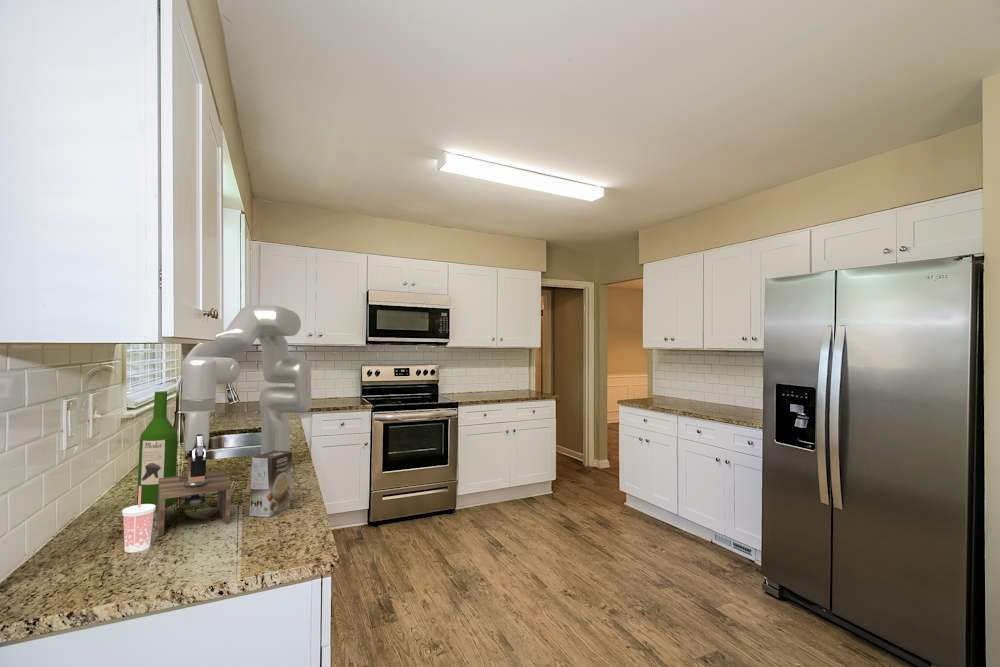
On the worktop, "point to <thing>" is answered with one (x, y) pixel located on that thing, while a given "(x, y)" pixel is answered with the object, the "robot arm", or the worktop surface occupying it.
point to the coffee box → (270, 483)
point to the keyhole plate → (174, 488)
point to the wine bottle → (157, 453)
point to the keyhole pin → (193, 483)
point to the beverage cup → (138, 526)
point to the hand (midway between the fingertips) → (196, 471)
